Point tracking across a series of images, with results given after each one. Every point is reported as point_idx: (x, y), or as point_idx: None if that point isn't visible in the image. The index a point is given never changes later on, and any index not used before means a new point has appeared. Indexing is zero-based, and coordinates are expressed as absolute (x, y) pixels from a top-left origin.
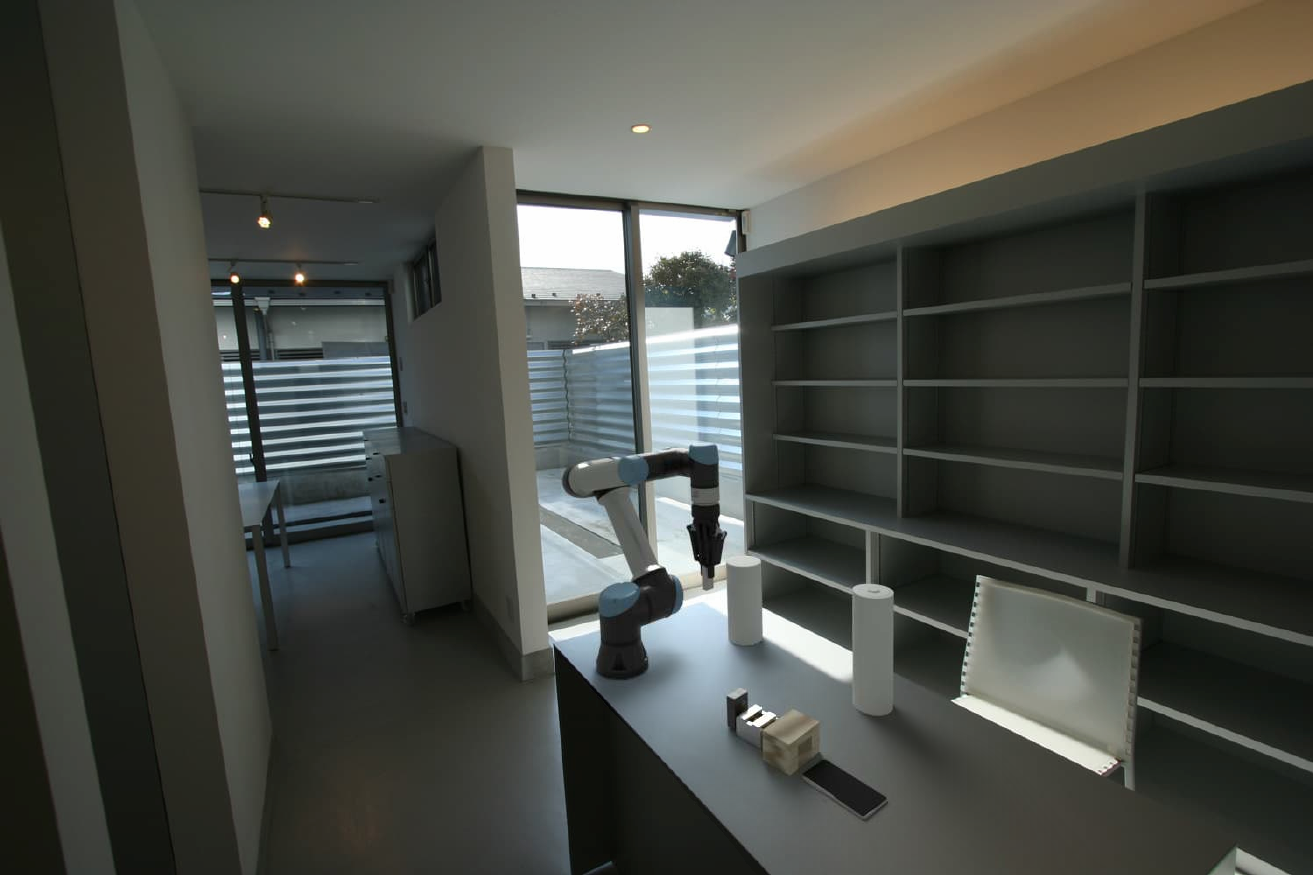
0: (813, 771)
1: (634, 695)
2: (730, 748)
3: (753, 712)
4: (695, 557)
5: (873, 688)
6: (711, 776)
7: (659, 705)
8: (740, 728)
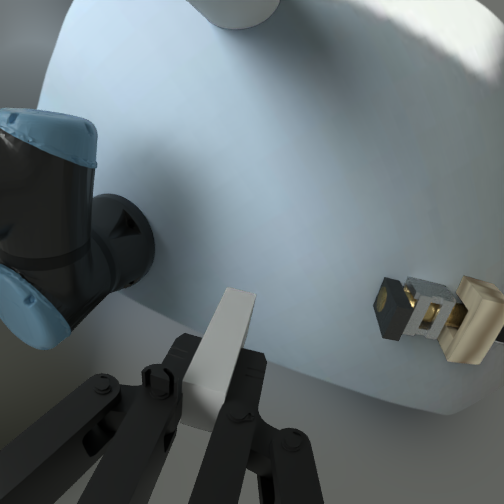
0: None
1: (192, 301)
2: None
3: (422, 314)
4: (105, 430)
5: None
6: (385, 380)
7: None
8: None
